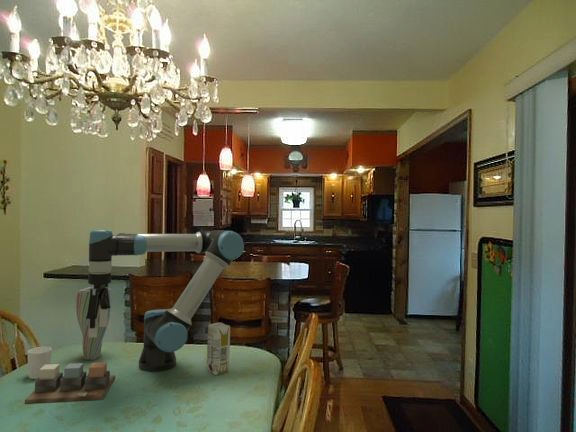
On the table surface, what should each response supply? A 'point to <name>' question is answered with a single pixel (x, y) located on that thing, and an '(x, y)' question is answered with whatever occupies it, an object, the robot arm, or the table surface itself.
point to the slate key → (73, 371)
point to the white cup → (38, 360)
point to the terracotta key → (98, 370)
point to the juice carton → (218, 348)
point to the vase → (92, 343)
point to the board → (70, 388)
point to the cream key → (49, 371)
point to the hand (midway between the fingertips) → (98, 331)
